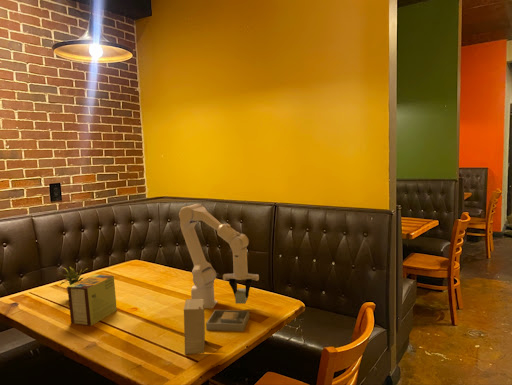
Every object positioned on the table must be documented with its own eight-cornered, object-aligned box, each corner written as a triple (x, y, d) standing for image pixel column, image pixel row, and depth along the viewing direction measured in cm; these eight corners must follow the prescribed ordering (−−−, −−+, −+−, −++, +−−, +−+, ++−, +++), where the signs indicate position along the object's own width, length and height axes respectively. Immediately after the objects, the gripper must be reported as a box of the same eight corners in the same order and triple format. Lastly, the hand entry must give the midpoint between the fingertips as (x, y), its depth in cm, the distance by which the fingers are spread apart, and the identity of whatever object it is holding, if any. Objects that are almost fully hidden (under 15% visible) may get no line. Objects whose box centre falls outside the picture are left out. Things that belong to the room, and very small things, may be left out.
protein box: (117, 310, 161) (114, 275, 160) (91, 326, 147) (87, 288, 145) (97, 308, 165) (94, 273, 163) (70, 323, 150) (66, 286, 148)
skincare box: (186, 342, 130) (183, 298, 129) (207, 340, 131) (204, 297, 129) (184, 355, 122) (180, 308, 120) (206, 353, 123) (203, 307, 121)
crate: (206, 331, 138) (206, 323, 138) (215, 316, 150) (214, 309, 150) (243, 332, 136) (243, 324, 136) (249, 317, 148) (249, 310, 147)
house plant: (49, 303, 172) (45, 269, 171) (73, 292, 185) (70, 260, 183) (72, 307, 167) (68, 271, 165) (95, 295, 180) (92, 262, 178)
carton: (235, 303, 151) (235, 293, 151) (238, 297, 157) (238, 288, 157) (245, 303, 151) (244, 294, 150) (248, 297, 156) (247, 288, 156)
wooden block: (220, 327, 139) (220, 318, 139) (224, 320, 145) (224, 311, 145) (236, 328, 138) (236, 319, 138) (240, 320, 144) (239, 312, 144)
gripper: (220, 267, 149) (222, 300, 151) (256, 267, 147) (257, 301, 149) (224, 262, 156) (226, 293, 158) (259, 262, 154) (260, 294, 155)
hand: (241, 296), depth 154 cm, fingers closed on carton, 4 cm apart
